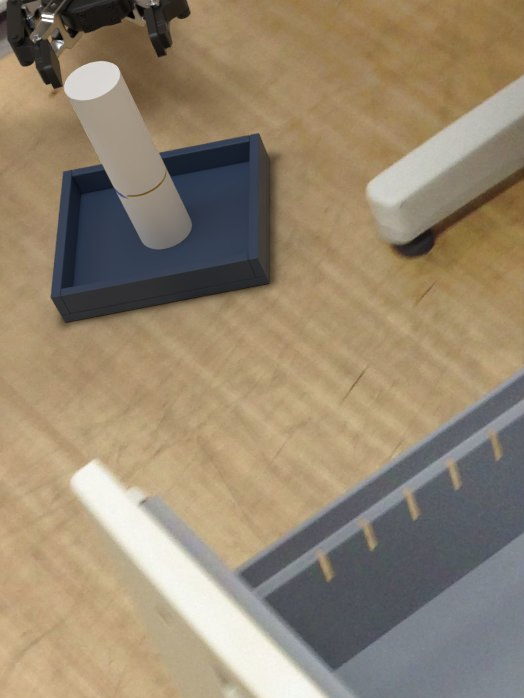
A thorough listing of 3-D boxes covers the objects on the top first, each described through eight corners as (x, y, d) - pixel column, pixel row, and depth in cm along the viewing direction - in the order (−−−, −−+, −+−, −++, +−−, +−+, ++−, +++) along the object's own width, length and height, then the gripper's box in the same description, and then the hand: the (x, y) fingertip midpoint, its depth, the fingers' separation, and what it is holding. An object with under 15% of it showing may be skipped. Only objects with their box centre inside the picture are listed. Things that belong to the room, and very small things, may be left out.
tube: (200, 213, 145) (129, 63, 133) (178, 251, 143) (104, 102, 131) (153, 209, 146) (79, 59, 134) (131, 246, 144) (54, 98, 132)
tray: (64, 322, 142) (50, 297, 139) (76, 196, 150) (62, 171, 148) (269, 283, 141) (257, 257, 138) (269, 158, 149) (259, 132, 147)
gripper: (-17, -68, 147) (-3, 51, 137) (151, -119, 147) (176, -4, 138) (23, 9, 153) (38, 128, 144) (184, -40, 153) (210, 75, 144)
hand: (106, 63), depth 141 cm, fingers open, 8 cm apart
